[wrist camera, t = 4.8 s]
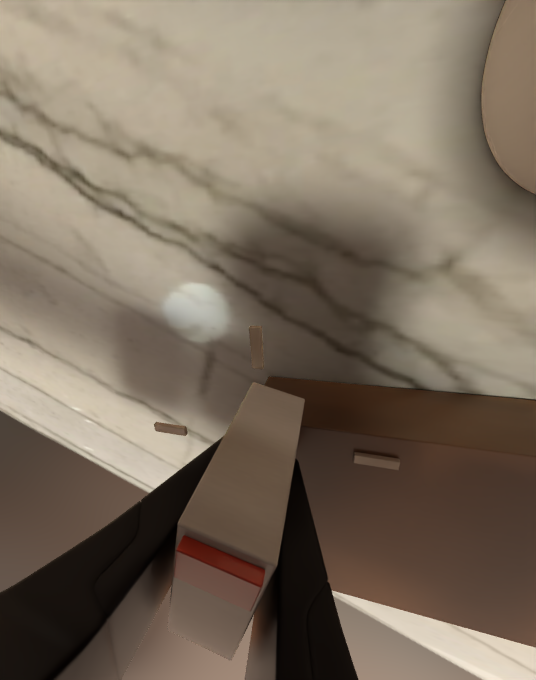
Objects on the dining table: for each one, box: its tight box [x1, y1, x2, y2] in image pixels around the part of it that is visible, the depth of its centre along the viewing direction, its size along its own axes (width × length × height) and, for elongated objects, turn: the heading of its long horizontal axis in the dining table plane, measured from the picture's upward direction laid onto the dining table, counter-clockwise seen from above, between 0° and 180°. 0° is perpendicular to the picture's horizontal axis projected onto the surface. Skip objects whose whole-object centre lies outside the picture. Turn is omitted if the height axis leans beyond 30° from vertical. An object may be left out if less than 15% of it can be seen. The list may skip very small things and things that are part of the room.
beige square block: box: [168, 382, 305, 660], centre depth 7 cm, size 5×2×5 cm, turn 167°
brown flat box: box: [154, 326, 536, 647], centre depth 10 cm, size 22×14×3 cm, turn 92°
